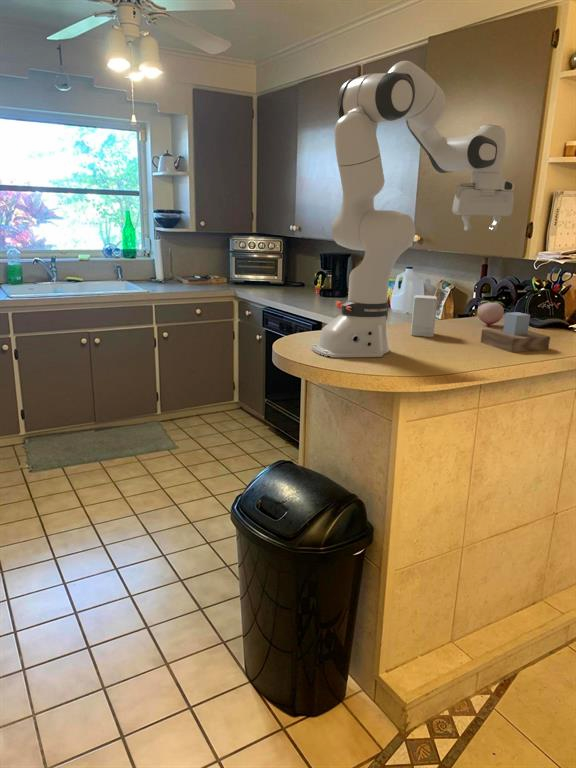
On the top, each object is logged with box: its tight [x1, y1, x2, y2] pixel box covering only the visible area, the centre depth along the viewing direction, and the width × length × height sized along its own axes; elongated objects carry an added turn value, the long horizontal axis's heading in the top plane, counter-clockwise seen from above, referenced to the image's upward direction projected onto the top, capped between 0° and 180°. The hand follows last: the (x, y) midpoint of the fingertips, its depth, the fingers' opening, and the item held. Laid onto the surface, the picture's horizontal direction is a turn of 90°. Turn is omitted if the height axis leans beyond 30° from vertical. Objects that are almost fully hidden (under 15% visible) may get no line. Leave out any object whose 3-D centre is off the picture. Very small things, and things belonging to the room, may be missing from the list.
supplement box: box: [410, 294, 438, 338], centre depth 190 cm, size 7×7×13 cm
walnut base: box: [480, 328, 551, 353], centre depth 178 cm, size 14×14×4 cm
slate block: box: [502, 311, 531, 335], centre depth 177 cm, size 5×5×6 cm
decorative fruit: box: [477, 298, 506, 326], centre depth 209 cm, size 9×8×10 cm
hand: (480, 230), depth 179 cm, fingers open, 8 cm apart
